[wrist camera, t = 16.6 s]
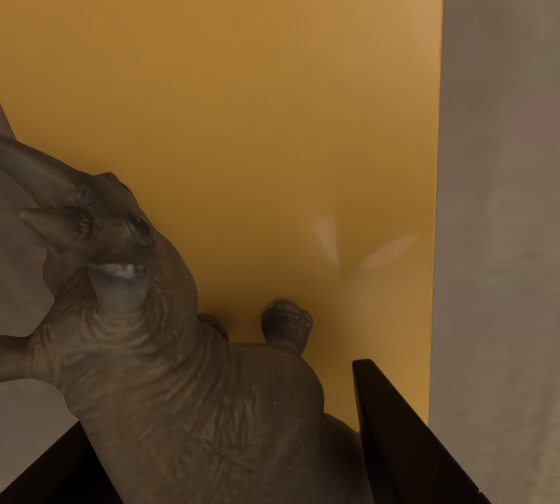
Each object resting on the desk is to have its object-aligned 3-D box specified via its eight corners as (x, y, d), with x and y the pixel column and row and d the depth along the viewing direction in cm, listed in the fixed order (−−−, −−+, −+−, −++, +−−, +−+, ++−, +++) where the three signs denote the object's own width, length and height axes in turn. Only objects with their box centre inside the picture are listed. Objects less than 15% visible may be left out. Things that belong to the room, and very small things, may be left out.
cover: (438, -93, 7) (447, -102, 7) (422, 468, 15) (426, 484, 14) (-29, -2, 8) (-51, -2, 8) (182, 478, 16) (178, 493, 16)
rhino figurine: (152, 36, 8) (-98, 47, 3) (408, 450, 14) (493, 718, 8) (-5, 141, 9) (-435, 313, 3) (297, 488, 14) (310, 752, 9)
